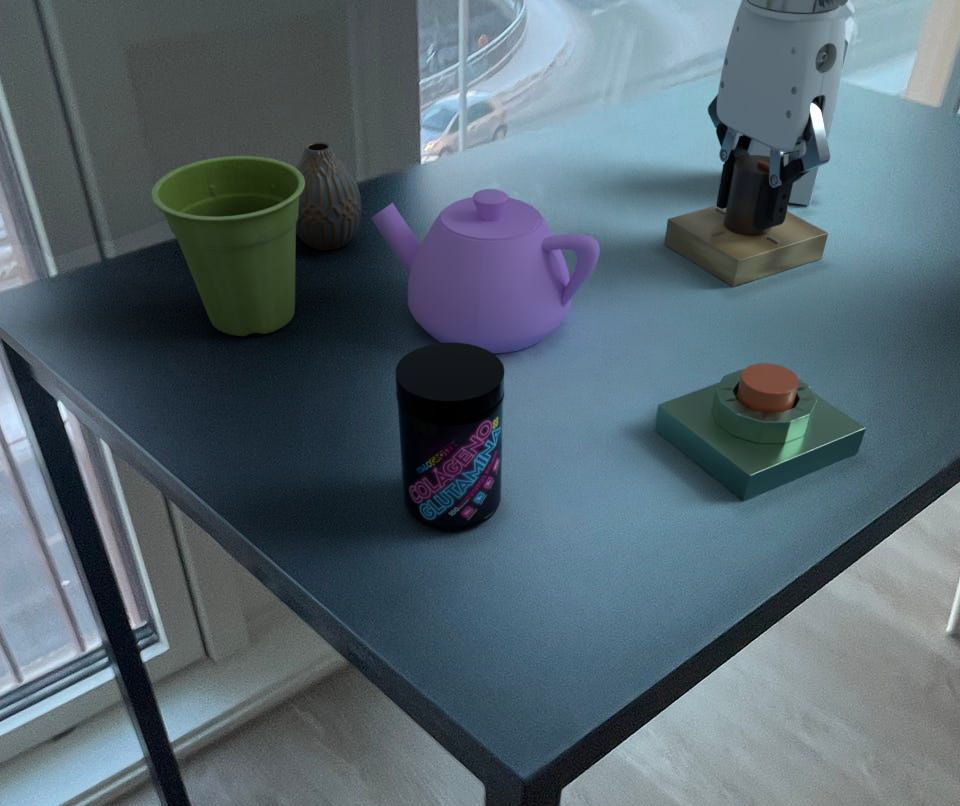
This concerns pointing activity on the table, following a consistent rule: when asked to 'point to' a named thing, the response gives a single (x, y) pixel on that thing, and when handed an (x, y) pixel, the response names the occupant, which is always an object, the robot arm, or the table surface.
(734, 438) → the button housing
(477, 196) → the teapot
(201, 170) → the plant pot
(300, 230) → the vase
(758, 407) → the push button
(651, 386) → the table surface
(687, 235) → the dial panel
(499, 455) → the supplement container
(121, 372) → the table surface
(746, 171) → the dial
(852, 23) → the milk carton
